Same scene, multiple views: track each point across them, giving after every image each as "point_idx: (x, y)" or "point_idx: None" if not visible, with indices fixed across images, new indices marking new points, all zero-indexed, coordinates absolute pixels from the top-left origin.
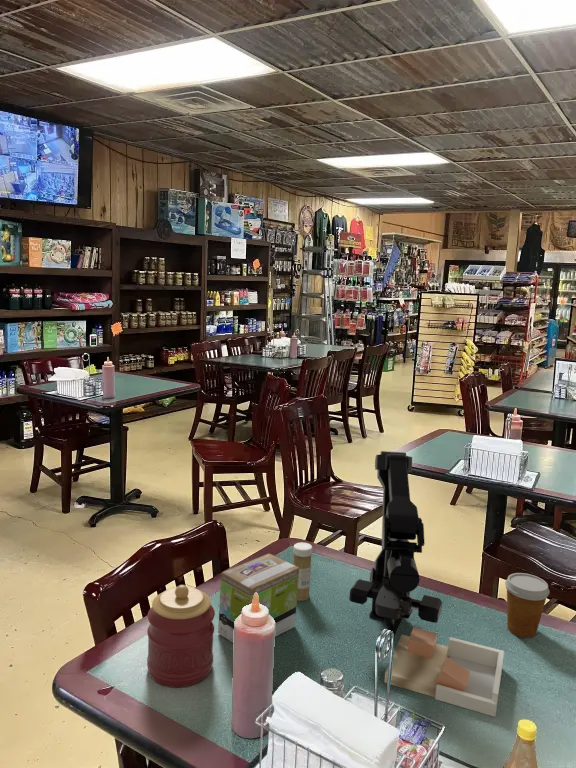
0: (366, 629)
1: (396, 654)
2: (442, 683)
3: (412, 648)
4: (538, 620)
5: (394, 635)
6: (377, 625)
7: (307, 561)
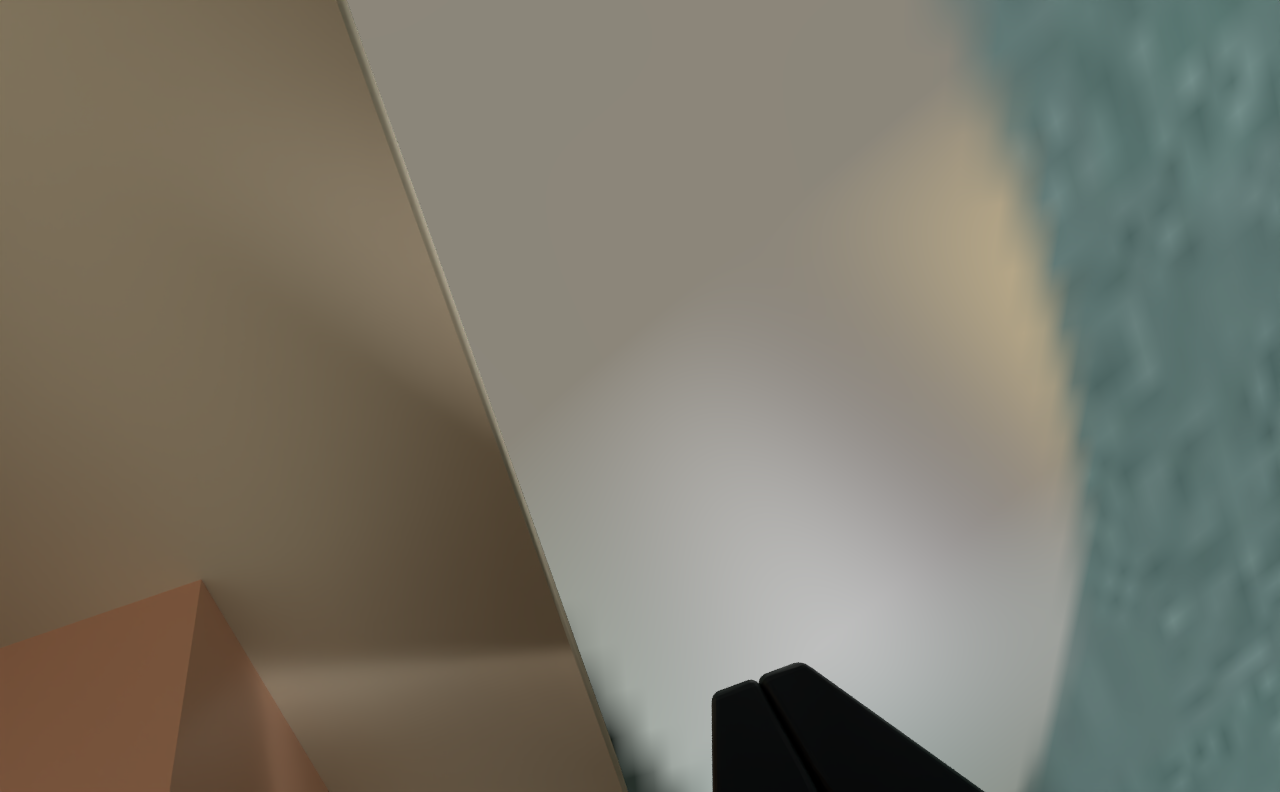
0: (1187, 623)
1: (357, 303)
2: None
3: (53, 731)
4: None
5: (717, 756)
6: (1074, 787)
7: None
